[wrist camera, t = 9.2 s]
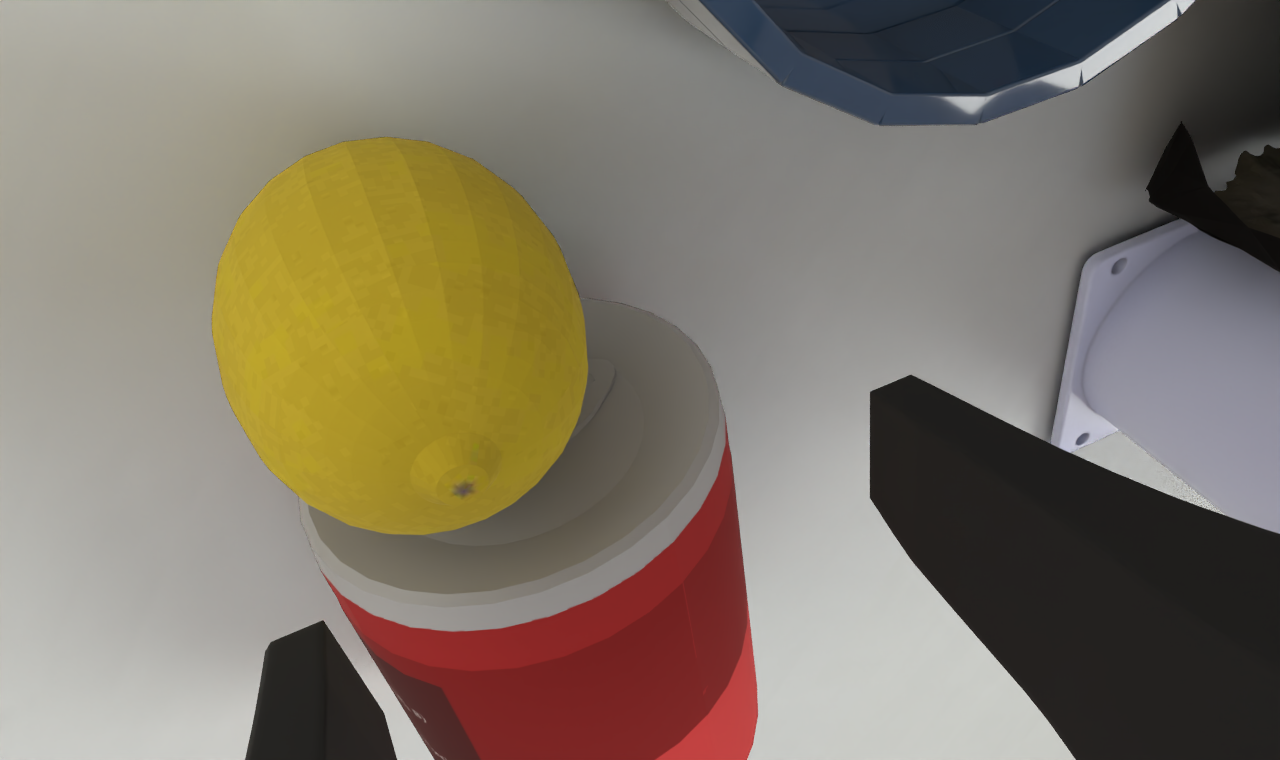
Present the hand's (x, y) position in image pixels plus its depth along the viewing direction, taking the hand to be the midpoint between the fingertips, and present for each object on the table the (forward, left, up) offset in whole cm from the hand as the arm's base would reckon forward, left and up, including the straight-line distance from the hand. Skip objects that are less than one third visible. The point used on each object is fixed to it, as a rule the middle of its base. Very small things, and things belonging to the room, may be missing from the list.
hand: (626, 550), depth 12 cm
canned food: (+1, +13, -6) cm, 14 cm away
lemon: (+2, -1, -10) cm, 10 cm away
